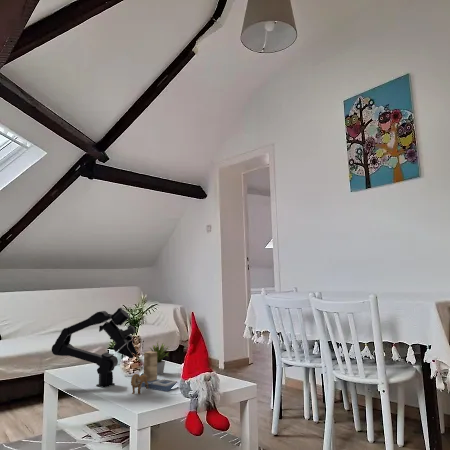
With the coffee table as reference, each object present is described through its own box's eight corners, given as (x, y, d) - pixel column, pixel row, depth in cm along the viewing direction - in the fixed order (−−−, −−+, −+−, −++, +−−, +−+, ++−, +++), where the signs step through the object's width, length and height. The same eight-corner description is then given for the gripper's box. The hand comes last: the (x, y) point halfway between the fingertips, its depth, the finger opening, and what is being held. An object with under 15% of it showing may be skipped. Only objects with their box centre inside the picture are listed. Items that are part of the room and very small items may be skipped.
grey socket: (152, 384, 187) (152, 382, 187) (164, 380, 194) (164, 378, 194) (165, 386, 182) (165, 384, 183) (177, 382, 189) (177, 380, 189)
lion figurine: (140, 396, 174) (140, 374, 175) (128, 396, 175) (128, 374, 176) (150, 387, 189) (150, 367, 190) (139, 387, 189) (139, 367, 190)
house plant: (170, 376, 210) (170, 344, 213) (143, 377, 210) (144, 344, 212) (173, 370, 224) (173, 340, 227) (148, 371, 224) (149, 341, 227)
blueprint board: (137, 386, 192) (137, 381, 192) (149, 382, 199) (149, 377, 199) (166, 391, 181) (166, 386, 182) (179, 387, 188) (179, 382, 189)
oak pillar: (143, 380, 195) (144, 352, 197) (150, 378, 198) (150, 351, 200) (150, 381, 192) (150, 353, 194) (156, 379, 196) (157, 351, 198)
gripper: (122, 322, 189) (144, 347, 188) (130, 318, 207) (150, 341, 206) (103, 339, 188) (125, 364, 186) (113, 333, 206) (134, 356, 205)
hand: (134, 355), depth 196 cm, fingers open, 9 cm apart
